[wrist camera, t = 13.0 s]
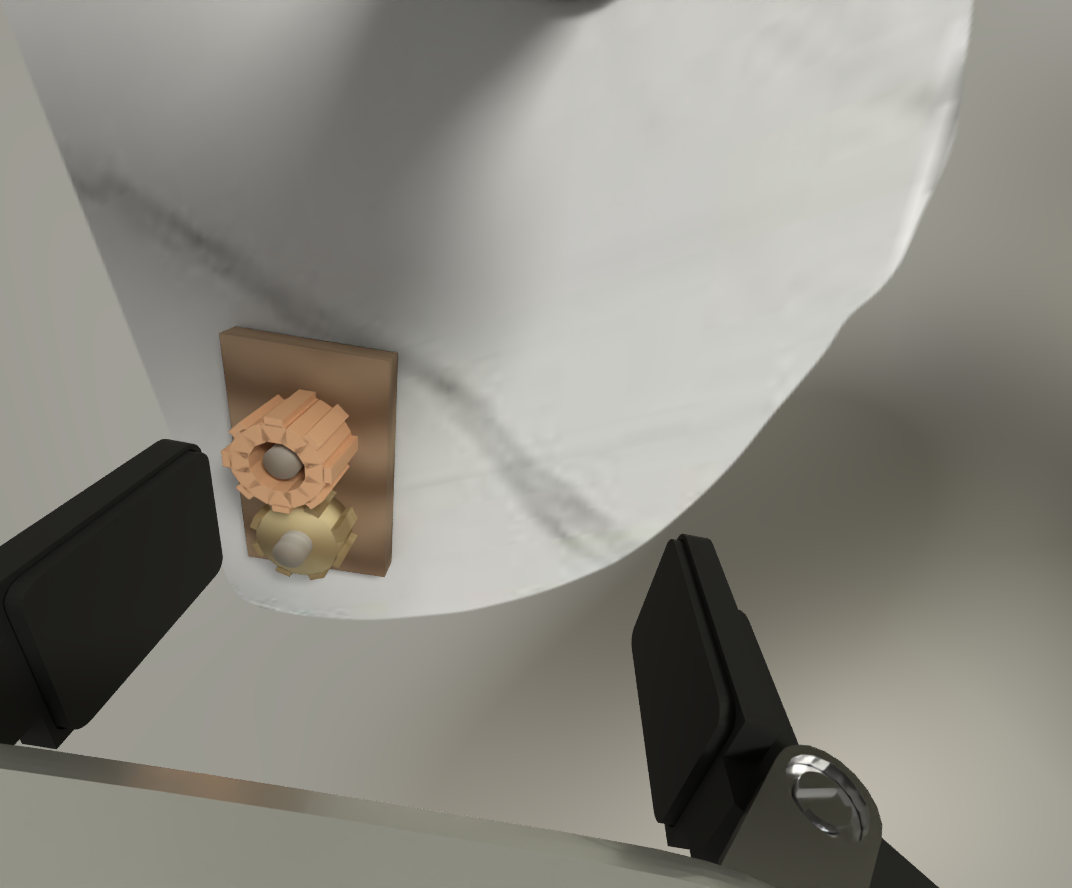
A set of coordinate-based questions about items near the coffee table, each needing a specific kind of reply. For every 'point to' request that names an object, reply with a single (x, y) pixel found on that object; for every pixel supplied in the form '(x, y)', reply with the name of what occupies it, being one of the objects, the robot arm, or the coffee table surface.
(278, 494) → the loose gear
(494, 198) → the coffee table surface
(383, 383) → the gear board
